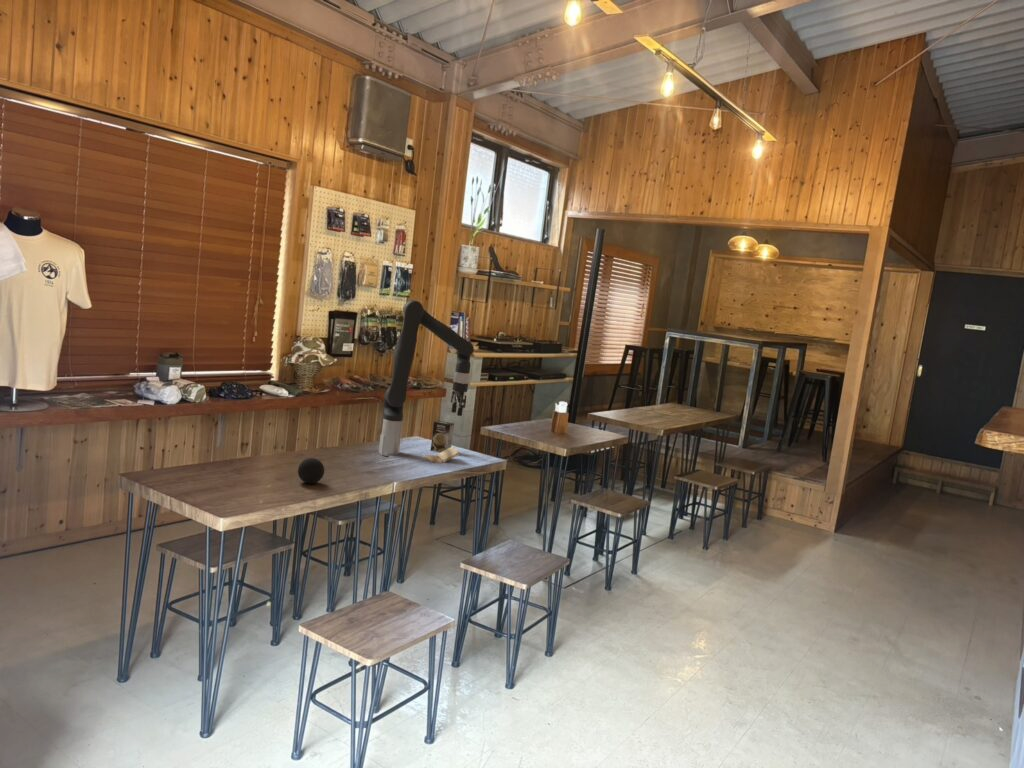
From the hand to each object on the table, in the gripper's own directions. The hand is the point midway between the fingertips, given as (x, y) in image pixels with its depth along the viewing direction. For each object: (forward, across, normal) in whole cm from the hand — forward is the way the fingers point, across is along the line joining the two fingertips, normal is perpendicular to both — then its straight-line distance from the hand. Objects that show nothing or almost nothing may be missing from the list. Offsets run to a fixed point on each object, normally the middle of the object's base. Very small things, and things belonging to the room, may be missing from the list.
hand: (456, 414), depth 357 cm
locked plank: (+22, +8, -12) cm, 26 cm away
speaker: (+24, +47, -75) cm, 92 cm away
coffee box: (+23, -11, -2) cm, 25 cm away
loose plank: (+19, +8, -4) cm, 21 cm away
